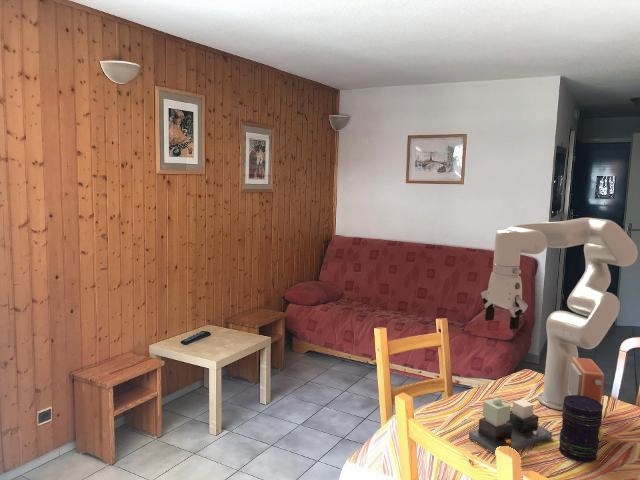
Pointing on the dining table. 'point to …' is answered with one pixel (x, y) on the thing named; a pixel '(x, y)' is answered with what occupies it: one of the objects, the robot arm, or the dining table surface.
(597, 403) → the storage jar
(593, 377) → the orange fan heater
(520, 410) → the breaker button
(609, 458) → the dining table surface
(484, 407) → the cap
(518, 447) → the breaker board
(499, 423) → the tagged breaker button
